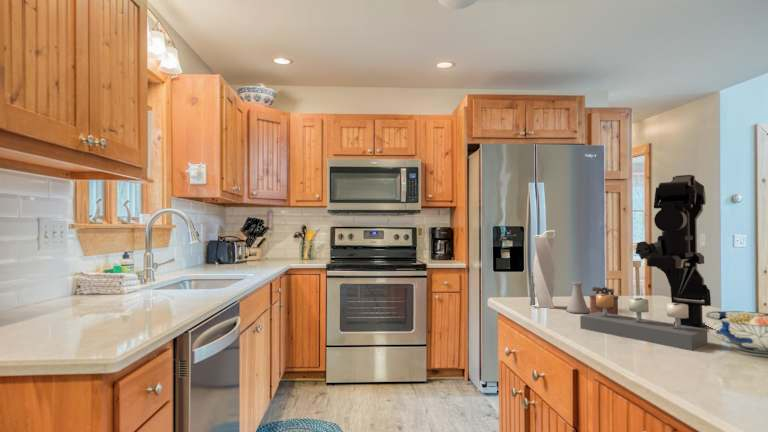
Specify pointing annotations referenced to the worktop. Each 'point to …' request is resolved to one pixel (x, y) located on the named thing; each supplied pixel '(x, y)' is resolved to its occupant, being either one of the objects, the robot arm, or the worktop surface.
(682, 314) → the knob
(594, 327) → the knob mount
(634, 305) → the knob centre
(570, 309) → the flask
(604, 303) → the knob
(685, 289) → the robot arm
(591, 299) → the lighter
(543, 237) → the skyscraper
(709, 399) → the worktop surface
